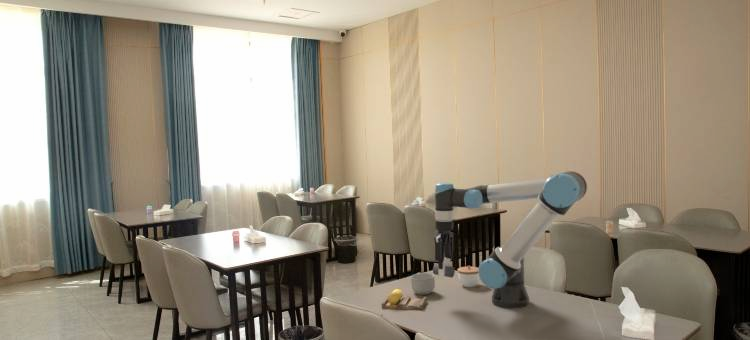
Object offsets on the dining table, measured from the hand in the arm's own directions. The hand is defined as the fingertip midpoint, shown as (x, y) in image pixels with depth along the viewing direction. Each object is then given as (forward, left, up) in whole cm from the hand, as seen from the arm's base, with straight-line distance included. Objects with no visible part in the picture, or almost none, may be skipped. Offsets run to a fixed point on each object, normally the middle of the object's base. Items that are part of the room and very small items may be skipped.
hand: (444, 274), depth 222 cm
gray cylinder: (0, 0, +2) cm, 2 cm away
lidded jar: (-8, -29, -13) cm, 32 cm away
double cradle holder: (+17, +4, -12) cm, 21 cm away
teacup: (+12, -16, -13) cm, 24 cm away
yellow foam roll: (+21, +3, -9) cm, 23 cm away
